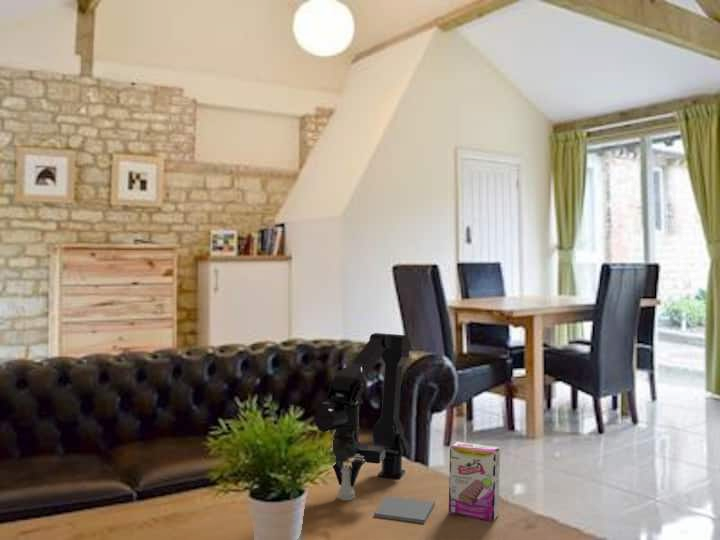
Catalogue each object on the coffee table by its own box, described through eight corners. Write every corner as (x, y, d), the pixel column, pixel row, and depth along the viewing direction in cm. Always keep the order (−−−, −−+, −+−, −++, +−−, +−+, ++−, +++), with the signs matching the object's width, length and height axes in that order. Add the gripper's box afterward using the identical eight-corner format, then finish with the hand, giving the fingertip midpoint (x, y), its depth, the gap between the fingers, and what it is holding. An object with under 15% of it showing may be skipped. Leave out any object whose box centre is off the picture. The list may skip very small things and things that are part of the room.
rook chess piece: (356, 495, 161) (356, 464, 161) (354, 501, 156) (354, 469, 156) (338, 494, 161) (339, 463, 161) (336, 500, 157) (336, 468, 157)
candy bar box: (447, 514, 149) (448, 445, 149) (453, 507, 154) (454, 440, 154) (494, 523, 144) (495, 451, 144) (499, 515, 149) (500, 446, 149)
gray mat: (387, 499, 159) (387, 495, 159) (434, 505, 155) (434, 501, 155) (374, 516, 147) (374, 513, 147) (424, 523, 144) (424, 520, 144)
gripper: (300, 427, 154) (299, 491, 154) (373, 435, 148) (372, 501, 148) (317, 418, 165) (316, 477, 165) (386, 424, 159) (385, 485, 159)
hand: (346, 485), depth 159 cm, fingers closed on rook chess piece, 3 cm apart
